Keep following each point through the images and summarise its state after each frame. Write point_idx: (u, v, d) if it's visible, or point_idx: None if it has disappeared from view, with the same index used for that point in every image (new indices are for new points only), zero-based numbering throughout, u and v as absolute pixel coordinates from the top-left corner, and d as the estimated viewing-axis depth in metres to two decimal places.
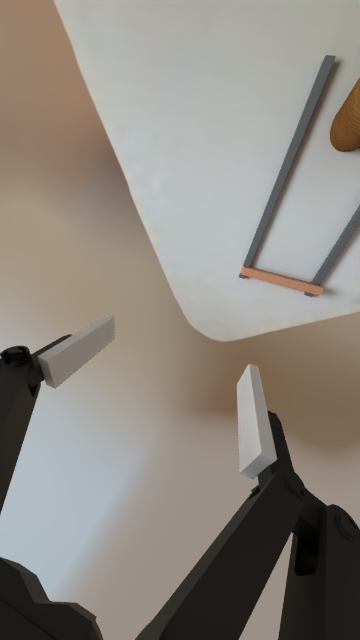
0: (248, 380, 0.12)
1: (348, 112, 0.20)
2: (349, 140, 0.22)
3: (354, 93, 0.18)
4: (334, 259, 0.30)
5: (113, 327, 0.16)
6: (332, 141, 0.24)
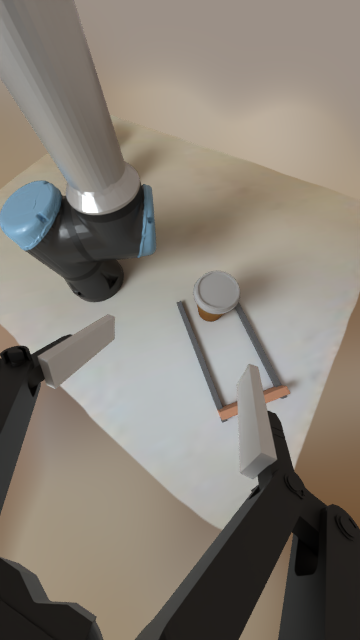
0: (248, 380, 0.12)
1: (203, 313, 0.37)
2: (213, 318, 0.38)
3: (200, 309, 0.36)
4: (268, 363, 0.37)
5: (113, 327, 0.16)
6: (206, 320, 0.42)
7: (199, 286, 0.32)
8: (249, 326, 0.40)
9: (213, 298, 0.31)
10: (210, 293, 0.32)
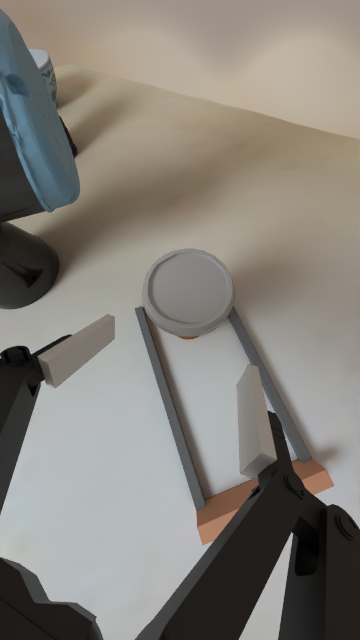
0: (248, 380, 0.12)
1: None
2: (190, 337, 0.22)
3: None
4: (287, 416, 0.21)
5: (113, 327, 0.16)
6: (181, 337, 0.25)
7: (152, 280, 0.16)
8: (252, 348, 0.24)
9: (179, 304, 0.15)
10: (173, 294, 0.15)
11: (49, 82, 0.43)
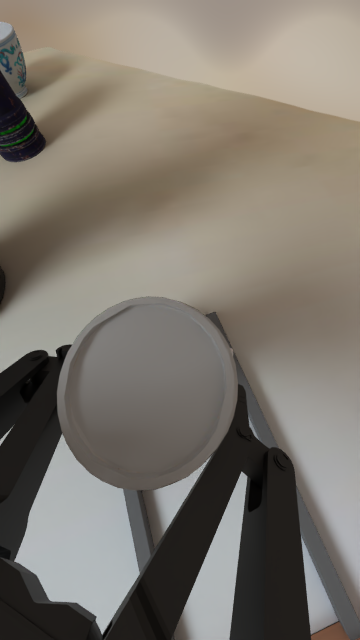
0: None
1: None
2: None
3: None
4: (320, 547, 0.13)
5: None
6: None
7: (81, 359, 0.08)
8: (262, 422, 0.16)
9: (125, 418, 0.07)
10: (117, 392, 0.08)
11: (14, 61, 0.36)
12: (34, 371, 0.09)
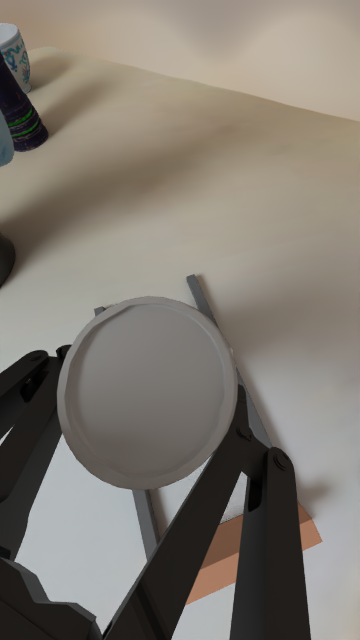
0: None
1: None
2: None
3: None
4: (268, 444, 0.17)
5: None
6: None
7: (81, 358, 0.08)
8: None
9: (125, 417, 0.07)
10: (117, 392, 0.08)
11: (19, 59, 0.39)
12: (34, 371, 0.09)
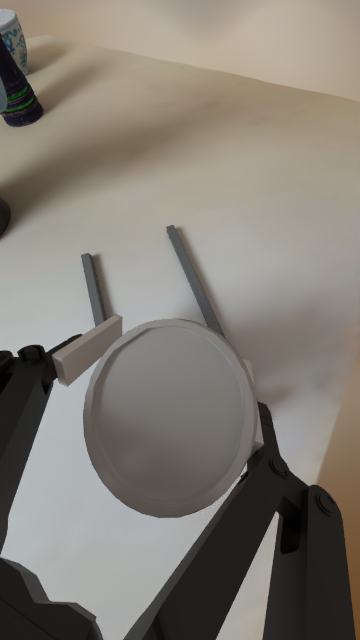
0: None
1: None
2: None
3: None
4: None
5: (121, 327, 0.16)
6: None
7: (104, 381, 0.09)
8: (201, 291, 0.22)
9: (146, 440, 0.08)
10: (137, 414, 0.08)
11: (16, 42, 0.42)
12: None
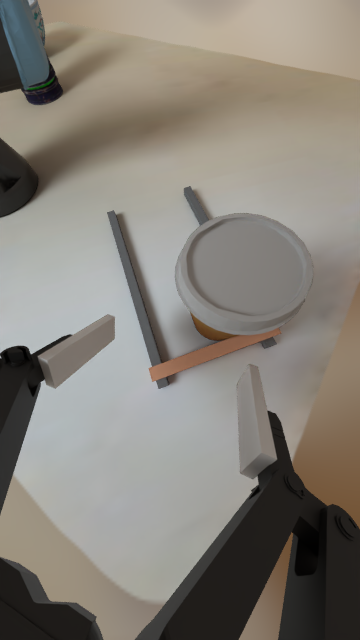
0: (248, 380, 0.12)
1: (205, 328, 0.16)
2: None
3: (195, 319, 0.15)
4: None
5: (113, 327, 0.16)
6: (210, 338, 0.21)
7: (190, 256, 0.11)
8: None
9: (233, 288, 0.10)
10: (223, 274, 0.11)
11: None
12: None
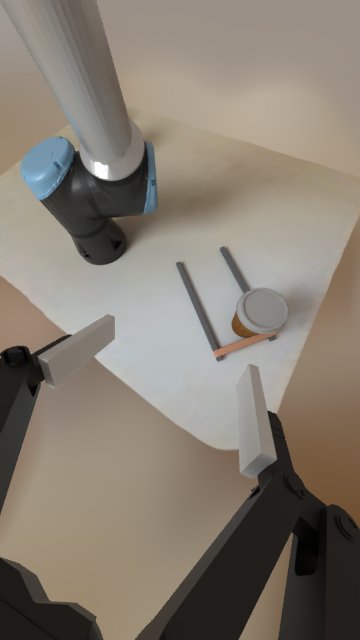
0: (248, 380, 0.12)
1: (244, 331, 0.35)
2: None
3: (240, 327, 0.34)
4: None
5: (113, 327, 0.16)
6: (241, 336, 0.40)
7: (244, 305, 0.31)
8: (242, 281, 0.44)
9: (260, 317, 0.30)
10: (256, 312, 0.30)
11: None
12: None
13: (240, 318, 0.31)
